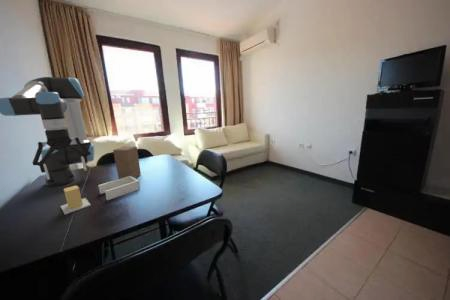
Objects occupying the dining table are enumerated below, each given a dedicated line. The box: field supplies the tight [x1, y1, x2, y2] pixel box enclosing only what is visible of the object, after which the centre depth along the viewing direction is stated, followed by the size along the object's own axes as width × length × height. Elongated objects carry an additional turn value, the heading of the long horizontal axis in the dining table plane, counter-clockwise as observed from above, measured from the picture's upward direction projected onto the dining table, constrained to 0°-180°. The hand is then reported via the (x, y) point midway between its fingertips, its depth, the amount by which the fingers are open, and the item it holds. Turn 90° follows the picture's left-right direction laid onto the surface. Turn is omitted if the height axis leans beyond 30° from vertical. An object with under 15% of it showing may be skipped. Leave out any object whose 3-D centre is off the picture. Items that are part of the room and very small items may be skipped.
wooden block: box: [112, 145, 142, 180], centre depth 124 cm, size 10×10×20 cm
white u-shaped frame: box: [97, 176, 141, 201], centre depth 106 cm, size 12×17×5 cm
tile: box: [60, 197, 92, 215], centre depth 91 cm, size 10×10×1 cm
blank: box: [63, 185, 83, 209], centre depth 90 cm, size 5×5×9 cm
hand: (67, 173), depth 88 cm, fingers open, 13 cm apart
